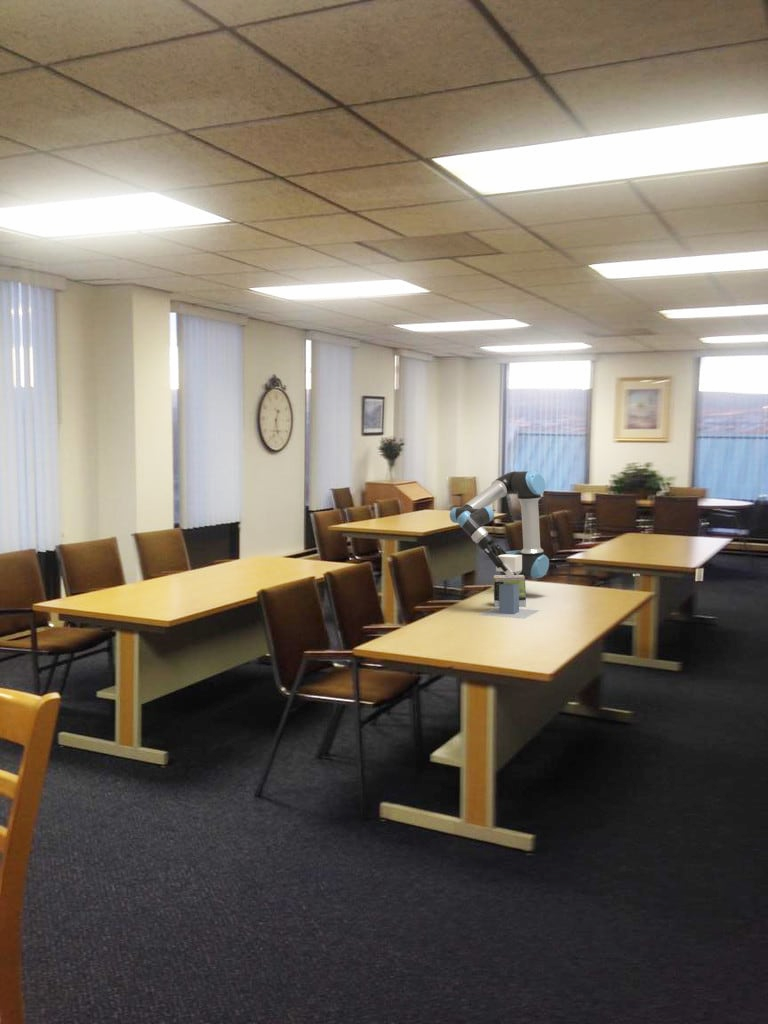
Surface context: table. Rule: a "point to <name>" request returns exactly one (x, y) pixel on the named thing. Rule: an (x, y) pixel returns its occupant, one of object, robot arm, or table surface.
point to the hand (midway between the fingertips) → (515, 574)
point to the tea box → (513, 580)
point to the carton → (508, 598)
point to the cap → (511, 562)
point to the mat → (521, 614)
